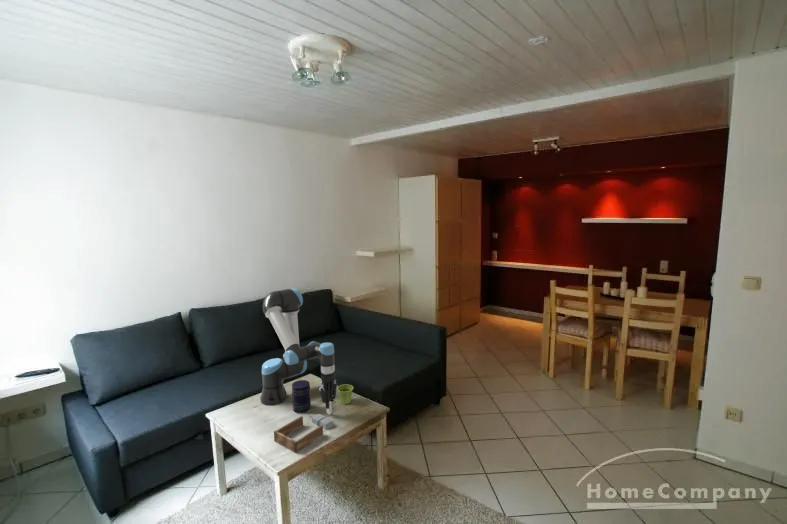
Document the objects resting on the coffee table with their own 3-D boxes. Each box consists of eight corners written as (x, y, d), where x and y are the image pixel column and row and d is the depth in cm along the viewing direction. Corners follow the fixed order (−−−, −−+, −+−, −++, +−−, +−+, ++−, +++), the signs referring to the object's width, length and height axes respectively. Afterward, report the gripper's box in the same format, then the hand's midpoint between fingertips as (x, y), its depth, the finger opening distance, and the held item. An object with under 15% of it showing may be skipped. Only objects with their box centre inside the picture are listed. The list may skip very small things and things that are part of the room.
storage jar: (302, 415, 204) (301, 389, 203) (289, 410, 209) (287, 385, 207) (314, 406, 213) (313, 382, 211) (301, 403, 218) (300, 378, 216)
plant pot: (355, 398, 223) (354, 384, 221) (351, 406, 213) (351, 391, 212) (339, 397, 223) (339, 384, 222) (335, 405, 214) (335, 391, 213)
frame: (274, 441, 181) (273, 431, 181) (301, 425, 195) (301, 416, 194) (295, 453, 172) (295, 442, 171) (323, 435, 185) (322, 425, 185)
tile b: (319, 426, 194) (319, 421, 193) (327, 422, 197) (326, 417, 197) (325, 429, 190) (325, 424, 190) (333, 425, 194) (333, 420, 194)
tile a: (311, 422, 197) (311, 417, 197) (319, 418, 201) (319, 413, 201) (317, 426, 194) (317, 420, 194) (325, 422, 198) (325, 416, 197)
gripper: (323, 377, 193) (325, 420, 196) (341, 369, 204) (342, 409, 207) (313, 374, 198) (315, 416, 201) (331, 366, 208) (333, 406, 211)
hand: (329, 413), depth 204 cm, fingers closed
